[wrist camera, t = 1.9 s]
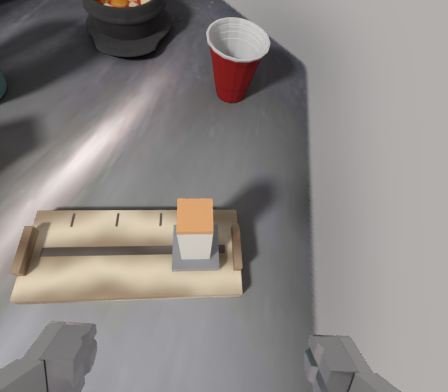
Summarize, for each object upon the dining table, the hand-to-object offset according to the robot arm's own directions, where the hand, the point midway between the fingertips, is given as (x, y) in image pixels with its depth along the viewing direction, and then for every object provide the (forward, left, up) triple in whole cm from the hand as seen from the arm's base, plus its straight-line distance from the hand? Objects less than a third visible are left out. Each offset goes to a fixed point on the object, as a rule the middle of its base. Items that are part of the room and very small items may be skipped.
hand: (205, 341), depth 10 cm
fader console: (+11, +9, -27) cm, 30 cm away
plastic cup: (+44, -6, -27) cm, 52 cm away
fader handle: (+11, +1, -24) cm, 27 cm away
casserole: (+64, +16, -27) cm, 72 cm away
